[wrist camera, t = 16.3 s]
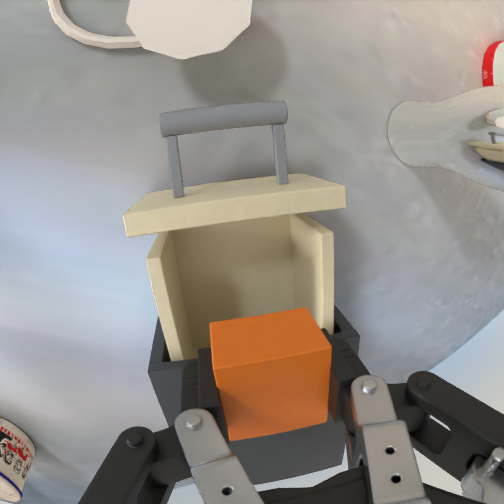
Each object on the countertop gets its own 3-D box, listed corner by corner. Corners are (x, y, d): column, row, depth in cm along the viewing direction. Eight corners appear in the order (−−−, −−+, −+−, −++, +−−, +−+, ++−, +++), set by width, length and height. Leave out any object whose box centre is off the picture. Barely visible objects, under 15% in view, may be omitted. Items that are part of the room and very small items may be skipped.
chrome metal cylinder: (416, 82, 23) (553, 66, 9) (451, 144, 25) (581, 164, 11) (368, 122, 24) (515, 119, 10) (408, 186, 26) (546, 230, 12)
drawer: (138, 126, 20) (108, 116, 13) (296, 108, 22) (339, 93, 14) (180, 350, 26) (177, 414, 19) (308, 329, 28) (341, 385, 20)
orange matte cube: (209, 322, 13) (212, 368, 10) (306, 306, 13) (332, 346, 10) (223, 393, 14) (229, 441, 11) (307, 378, 14) (327, 422, 12)
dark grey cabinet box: (161, 298, 26) (147, 371, 17) (311, 275, 27) (360, 335, 18) (195, 417, 30) (199, 491, 21) (311, 397, 32) (341, 464, 23)
